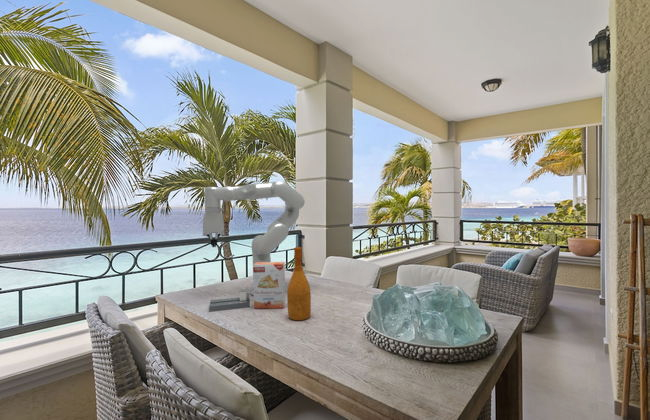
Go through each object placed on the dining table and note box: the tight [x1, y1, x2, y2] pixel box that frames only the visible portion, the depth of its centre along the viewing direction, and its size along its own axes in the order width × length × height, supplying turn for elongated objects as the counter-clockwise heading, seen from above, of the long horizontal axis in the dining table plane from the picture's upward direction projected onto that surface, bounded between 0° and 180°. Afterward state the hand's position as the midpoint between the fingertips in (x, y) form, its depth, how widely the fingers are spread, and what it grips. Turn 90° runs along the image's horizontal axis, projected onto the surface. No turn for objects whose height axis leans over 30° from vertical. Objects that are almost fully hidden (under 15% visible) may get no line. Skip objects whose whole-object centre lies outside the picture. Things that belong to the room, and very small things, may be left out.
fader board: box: [208, 292, 251, 313], centre depth 149 cm, size 18×10×4 cm, turn 107°
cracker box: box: [252, 261, 286, 310], centre depth 147 cm, size 14×6×21 cm, turn 90°
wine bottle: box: [286, 246, 312, 321], centre depth 133 cm, size 10×10×30 cm
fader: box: [238, 287, 247, 301], centre depth 151 cm, size 3×5×5 cm, turn 17°
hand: (214, 246), depth 160 cm, fingers closed
